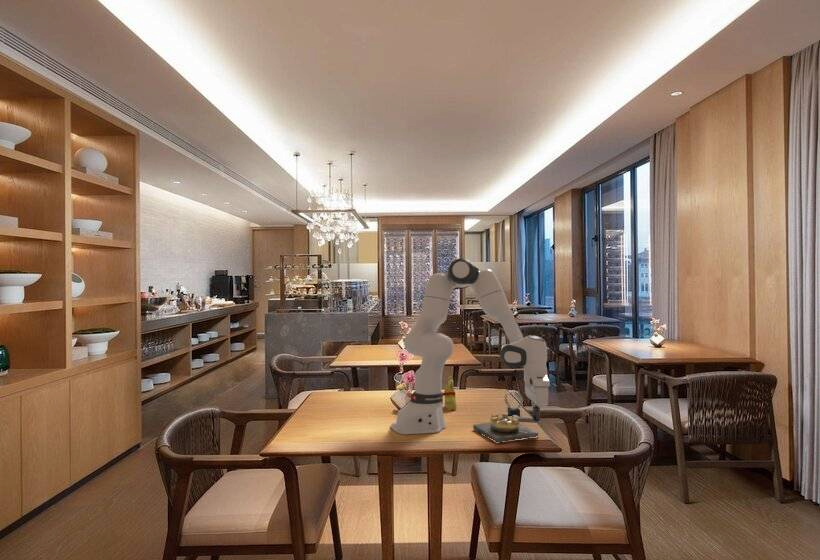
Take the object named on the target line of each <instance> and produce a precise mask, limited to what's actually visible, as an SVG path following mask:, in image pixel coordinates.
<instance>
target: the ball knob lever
mask: <svg viewBox="0 0 820 560" xmlns="http://www.w3.org/2000/svg"><path fill="white" fill-rule="evenodd" d="M540 421H541V407H533V410H532V417H523V416H522V417H521V416H520V417H518V416H517V415H512V417H510V416H509V415H508V413H507V412H506V413H505V412H502V415H500V416H499V415H498V413H494V414H491V417H490V422H491V429H493V430H495V431H499V432H515V431H518V430H519V424H520V423H530V424H531V423H532V424H540Z"/></svg>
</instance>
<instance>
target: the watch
mask: <svg viewBox="0 0 820 560" xmlns="http://www.w3.org/2000/svg"><path fill="white" fill-rule="evenodd" d="M511 393H514V394H515V397H516V398H517V400H518V401H519V404H518V405H516V406H511V405H510V404H509V402H508V398H507V397H508V395H510V394H511ZM523 401H524V399H523V396H522V395H521V394H520V392H519V390H513V389H510V390H509V391H507V392H506V393H505V395H504V402H505V404H506V405H507V410H506V411H507V412H508V414H509V415H510V416H512V415H517V416H520V417H521V409H520V408H521V407H522V406H523V403H524V402H523ZM507 412H506V413H507ZM509 415H508V416H509ZM510 416H509V417H510Z"/></svg>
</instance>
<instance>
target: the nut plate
mask: <svg viewBox="0 0 820 560" xmlns="http://www.w3.org/2000/svg"><path fill="white" fill-rule="evenodd" d="M472 427H473V428H472V429H474V430H473V431H475V430H476V431H475V432H477V431H478V432H480V433H481V434H480V433H479V434H480V435H482V434H483V435H485V436H487V437H489V438H491V439H493V440H495V441H496V442H502V441H508V440H515V439H522V438H529V437H536V436H538V437H539V432H538V431H536V430H534V429H531V428H530V427H528V426H525V425H523V424H521V423H519V430H518V431H515V432H499V431H495V430H493V429H491V421H490V422H484V423H476V424H472ZM478 432H477V433H478ZM483 435H482V436H483ZM485 436H484V437H485ZM487 437H486V438H487Z"/></svg>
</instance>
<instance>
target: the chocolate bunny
mask: <svg viewBox="0 0 820 560" xmlns="http://www.w3.org/2000/svg"><path fill="white" fill-rule="evenodd" d="M443 399H444V406H445V408H446V409H447V410H448V411H455V409H456V410H457V402H456V400H457V398H456V391H455V387H454V379H453V377H452V376H448V377H447V381H446V383H445V387H444V392H443Z"/></svg>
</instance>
